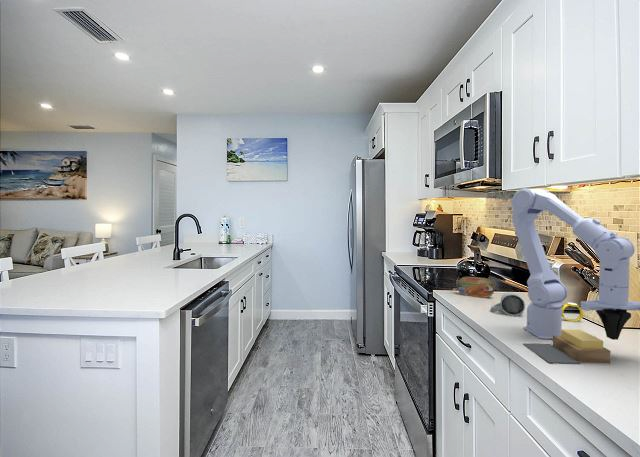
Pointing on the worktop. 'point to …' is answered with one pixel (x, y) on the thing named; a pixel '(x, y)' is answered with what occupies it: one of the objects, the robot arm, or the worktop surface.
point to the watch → (573, 306)
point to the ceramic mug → (510, 304)
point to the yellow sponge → (582, 339)
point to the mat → (550, 353)
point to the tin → (475, 287)
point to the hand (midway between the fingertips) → (612, 338)
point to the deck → (581, 351)
